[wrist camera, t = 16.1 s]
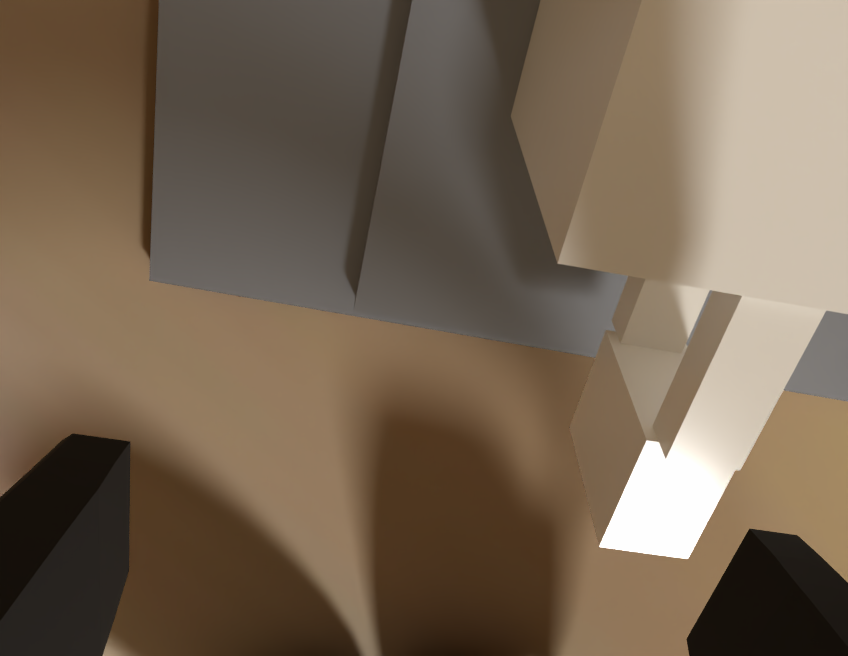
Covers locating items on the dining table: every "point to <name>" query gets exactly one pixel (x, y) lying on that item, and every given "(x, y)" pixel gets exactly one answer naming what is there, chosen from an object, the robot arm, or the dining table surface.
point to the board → (375, 173)
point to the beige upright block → (689, 230)
